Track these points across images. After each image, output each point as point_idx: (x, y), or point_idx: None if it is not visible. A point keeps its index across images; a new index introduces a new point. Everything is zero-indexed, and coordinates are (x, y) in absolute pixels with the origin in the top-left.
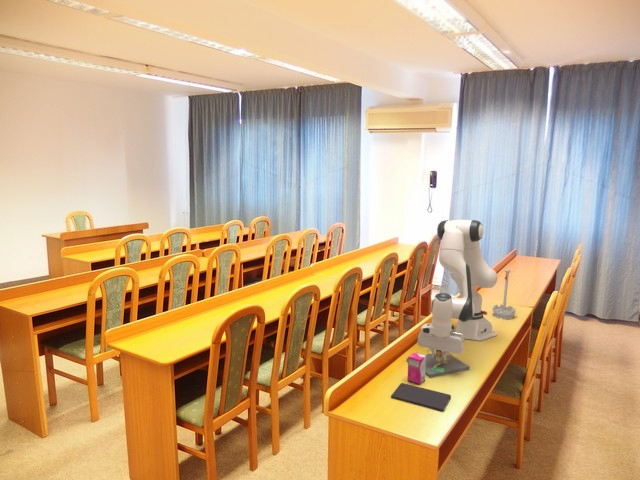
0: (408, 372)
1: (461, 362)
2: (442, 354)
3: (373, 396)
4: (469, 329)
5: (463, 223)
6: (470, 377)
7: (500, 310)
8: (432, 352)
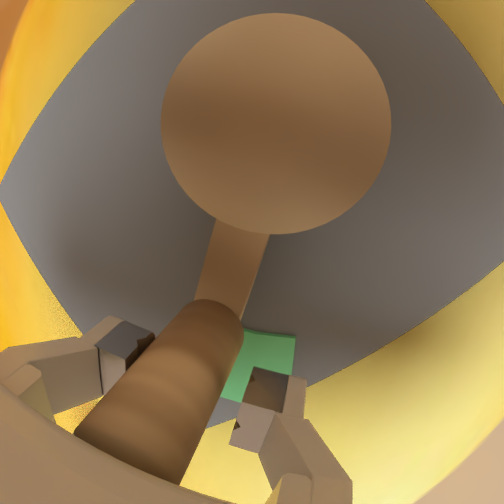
0: None
1: (497, 122)
2: (252, 97)
3: None
4: None
5: None
6: (499, 358)
7: None
8: (66, 404)
